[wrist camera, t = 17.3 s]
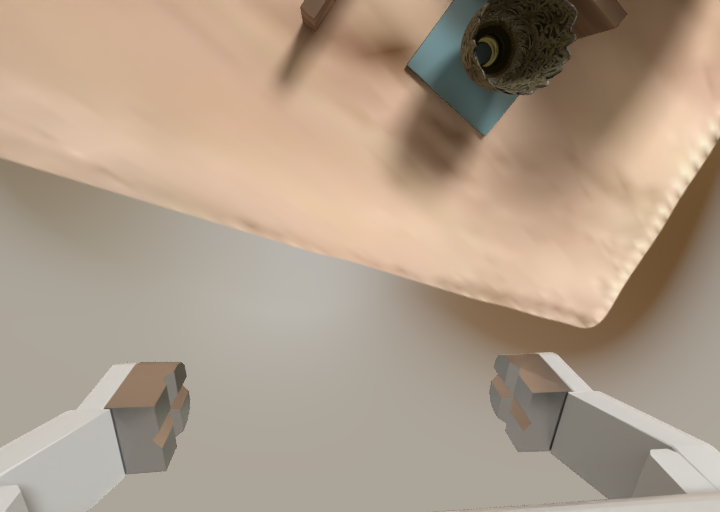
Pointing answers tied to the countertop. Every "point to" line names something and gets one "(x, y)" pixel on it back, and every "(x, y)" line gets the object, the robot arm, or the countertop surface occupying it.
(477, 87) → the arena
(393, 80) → the countertop surface
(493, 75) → the cup
